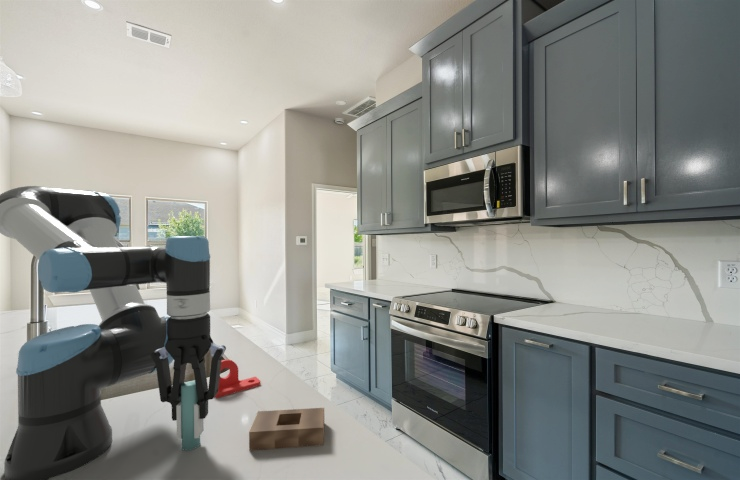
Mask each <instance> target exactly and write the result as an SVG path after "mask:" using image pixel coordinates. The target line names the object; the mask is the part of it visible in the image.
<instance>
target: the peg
mask: <svg viewBox="0 0 740 480" xmlns="http://www.w3.org/2000/svg"><path fill="white" fill-rule="evenodd" d="M197 402H198V398H197V391H196V384H195V380H190V381H187V382H184V384H182V385H181V404H182V439H181V450H182V451H191V450H195V449H196V448H198V447H199V446H201V436H200V437H199V438H194V404H196V403H197Z"/></svg>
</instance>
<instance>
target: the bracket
mask: <svg viewBox="0 0 740 480" xmlns="http://www.w3.org/2000/svg"><path fill="white" fill-rule="evenodd" d="M224 369H229V372H228V374H227V375H226V376H224V377H221V376H220V379H219V389H218V393H217V394H216V396H215V397H214V398H216V399H217V398H221V397H225V396H229V395H231V394H235V393H238V392H242V391H247V390H249V389H253V388H255V387H259V386H261V379H259V378H258V377H257V376H253V377H248V378H246V379H241V380H239V366H238V365H237V363H236V362H235V361H233V359H228V358H226V359H222V360H221V370H220V373H221V372H222V370H224Z"/></svg>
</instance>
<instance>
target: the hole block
mask: <svg viewBox="0 0 740 480" xmlns="http://www.w3.org/2000/svg"><path fill="white" fill-rule="evenodd" d="M324 435H325V407H314V408H313V407H312V408H311V407H310V408H296V409H277V410H262V411H260V410H259V411H258V412H257V413H256V415H255V418H254V421H253V423H252V424H251V427H250V428H249V432H248V444H249V445H248V447H249V449H248V450H249V451H259V450H260V451H262V450H274V449H275V450H276V449H286V448H287V449H291V448H303V447H316V446H317V447H320V446H324V440H325V439H324Z"/></svg>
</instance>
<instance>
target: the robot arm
mask: <svg viewBox="0 0 740 480" xmlns="http://www.w3.org/2000/svg"><path fill="white" fill-rule="evenodd" d="M120 213H121V210H120V207H119V204H118V203H117V202H116V200H115V199H114V198H113V197H112V196H111V195H109V194H108V193H104V192H99V191H98V192H97V191H95V190H79V189H77V190H76V189H68V188H59V187H58V188H57V187H46V186H39V185H38V186H37V185H27V186H19V187H16V188H11V189H9V190H6V191H4V192H2V193H0V234H1V235H3V236H5V237H7V238H10V239H14V240H16V241H17V242H18V243H19V244H20V245H21V246H22V247H24V248H25V249H26V250H27V251H28V252H29V253H30V254H32V255H33V256H34V257H35V258H36V259H37V260H38V265H37V274H38V275H37V276H38V280H39V281H40V284H41V287H42V288H43V290H45V291H46V292H47V293H53V294H57V293H79V292H82V291H89V292H90V294H91V296H92V298H93V302H94V304H95V307H96V309H97V311H98V313H99V316H100V319H101V322H100V323H98V324H94V323H87V324H86V323H85V324H79V325H75V326H74V325H73V326H67V327H62V328H57V329H55V330H52V331H48V332H45V333H42V334H39V335H36V336H35V337H33V338H31V339H29V340H28V341H26V342H24V344H23V345H22V346H21V347H20V349H19V351H18V358H17V366H16V371H15V373H16V375H17V410H18V411H17V412H18V413H17V414H18V418H17V419H18V420H17V422H18V424H17V429H16V431H15V433H14V436H13V438H12V440H11V443H10V446H9V448H8V452H7V454H6V456H5V459H4V463H3V464H4V466H3V467H4V468H3V469H4V471H3V472H4V477H5V479H6V480H48V479H51V478H54V477H57V476H58V477H59V476H61V475H64V474H67V473H69V472H72V471H74V470H77V469H79V468H81V467H83V466H85V465H88V464H89V463H91V462H92V461H94V460H96V459H98V458H99V457H101V455H103V454H104V453H105V452H106V451H107V450H108V449H109V448H110V447H111V445H112V443H113V429H112V426H111V425H110V422H109V419H108V417H107V415H106V412H105V411H104V409H103V406H102V389H104V388H107V387H111V386H113V385H117V384H120V383H123V382H125V381H126V382H127V381H130V380H132V379H136V378H139V377H142V376H145V375H150V374H153V373H155V372H156V376H157V384H158V391H159V397H160V398H159V399H160V402H162V403H170V405H171V420H172V421H176V440H179V441H180V440H182V404H181V385H182V384H184V383H185V378H186V369H187V365H188V364H190V365H191V369H192V370H193V376H194V381H195V384H196V391H197V398H198V402H197V403H196V404H194V438H199V437H200V438H201V435H202V434H203V432H204V429H205V427H204V424H205V423H204V419H206V418H207V416H208V415H209V400H213V399H214V398H215V396H216V394H217V393H218V389H219V379H220V377H221V372H220V370H221V361H222V360H223V356H224V353H225V352H226V351H227V350H226V349H227V347H226V346H225V345H218V344H216V343H214V341H213V339H212V337H211V314H209V312H210V311H211V291H210V289H211V288H210V287H211V285H210V284H211V283H210V282H211V281H210V280H211V279H210V278H211V274H210V273H211V270H210V269H211V254H210V248H209V247H210V246H209V245H210V244H209V242H210V241H209V239H208V238H207V237H205V236H199V235H195V236H189V235H187V236H186V235H185V236H184V235H183V236H182V235H181V236H180V235H179V236H168V238H166V241H165V246H164V245H163V246H161V245H145V246H119V245H118V244H117V241H116V240H115V236H116V234H117V232H118V230H119V228H120V226H121V219H122V216H121V215H120ZM155 283H161V284H162V283H163V284H165V285H166V315H167V316H164V315H163V316H161V317H160V316H159V314H158V312H157V310H156V308H155V307H154V306H152V305H150V304H145V302H144V299H143V297H142V295H141V293H140V290H139V289H138V287H137V285H145V284H155ZM209 351H210V356H211V357H212V358H211V361H210V362H211V364H210V371H209V372H210V373H209V381H208V380H207V371H206V359H205V358H206V357H205V356H206V355H207V353H208V352H209ZM172 363H173V369H172V370H173V378H171V371H170V365H171V364H172Z"/></svg>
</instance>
